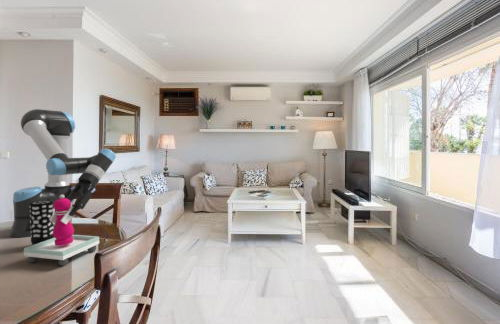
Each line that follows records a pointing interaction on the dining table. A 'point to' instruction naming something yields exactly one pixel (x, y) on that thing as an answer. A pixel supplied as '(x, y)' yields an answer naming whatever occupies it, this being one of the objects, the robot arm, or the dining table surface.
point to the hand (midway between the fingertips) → (57, 221)
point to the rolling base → (61, 249)
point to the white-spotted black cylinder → (41, 221)
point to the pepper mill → (62, 230)
